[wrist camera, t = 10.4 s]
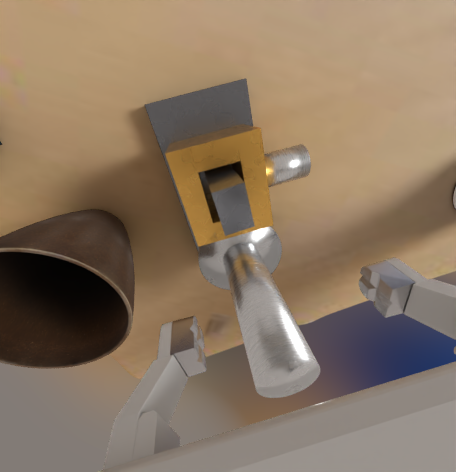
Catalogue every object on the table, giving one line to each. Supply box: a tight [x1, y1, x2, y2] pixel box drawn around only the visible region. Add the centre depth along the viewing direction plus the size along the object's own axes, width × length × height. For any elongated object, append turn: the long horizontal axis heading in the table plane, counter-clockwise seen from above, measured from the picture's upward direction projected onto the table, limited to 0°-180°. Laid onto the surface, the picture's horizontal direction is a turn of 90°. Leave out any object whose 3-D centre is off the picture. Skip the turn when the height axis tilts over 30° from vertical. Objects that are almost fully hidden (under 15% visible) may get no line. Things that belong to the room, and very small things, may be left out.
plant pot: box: [0, 210, 135, 368], centre depth 26 cm, size 15×15×16 cm
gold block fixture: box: [145, 79, 320, 398], centre depth 22 cm, size 17×24×24 cm
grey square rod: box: [204, 164, 255, 236], centre depth 25 cm, size 3×4×12 cm, turn 15°
